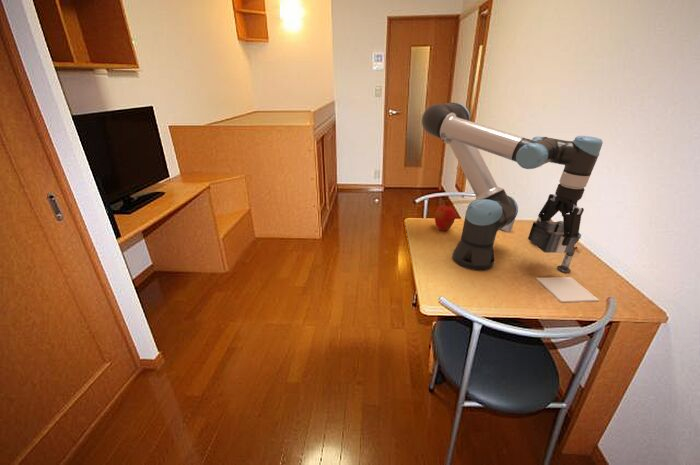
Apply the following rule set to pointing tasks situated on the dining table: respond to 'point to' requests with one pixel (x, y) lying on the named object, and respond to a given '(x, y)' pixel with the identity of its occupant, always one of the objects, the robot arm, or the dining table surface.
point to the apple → (444, 217)
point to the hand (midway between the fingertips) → (549, 244)
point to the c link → (549, 236)
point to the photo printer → (508, 227)
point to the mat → (566, 289)
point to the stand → (566, 263)
